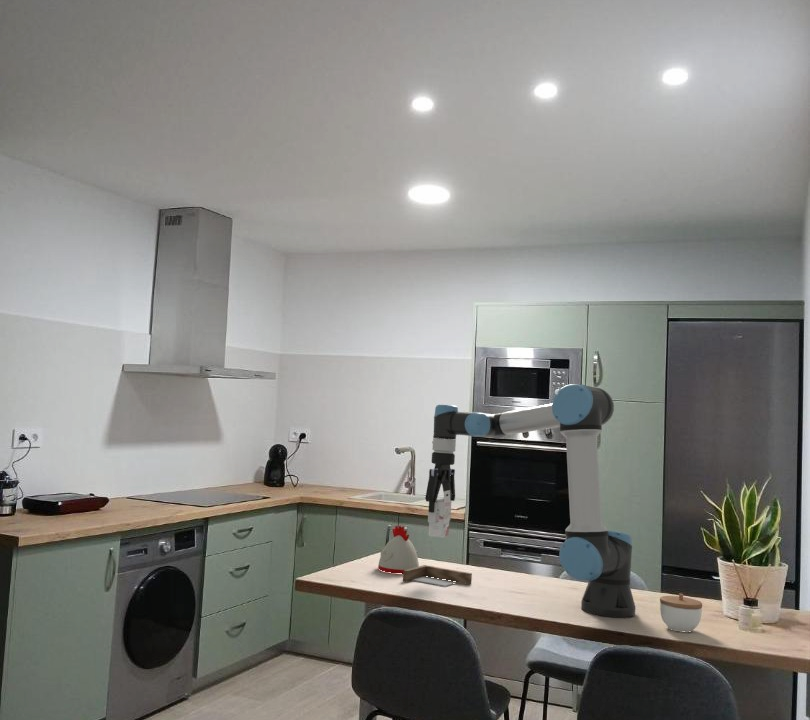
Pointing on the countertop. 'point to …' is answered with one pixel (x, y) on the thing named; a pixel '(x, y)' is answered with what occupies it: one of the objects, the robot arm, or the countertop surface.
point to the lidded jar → (680, 612)
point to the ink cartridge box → (441, 517)
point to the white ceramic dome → (398, 553)
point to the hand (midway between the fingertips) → (439, 521)
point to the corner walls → (436, 574)
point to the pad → (434, 581)
